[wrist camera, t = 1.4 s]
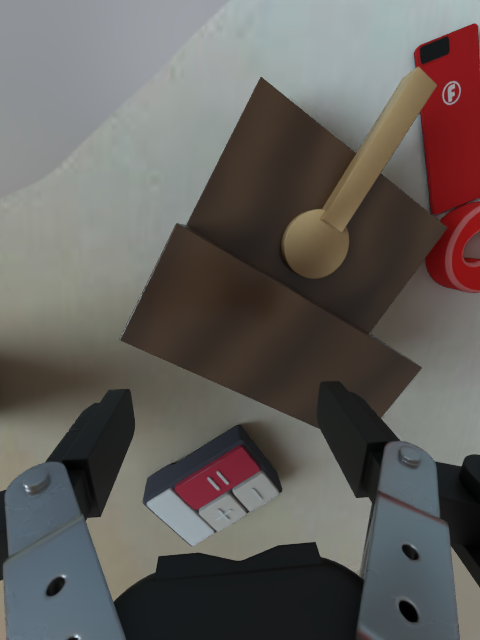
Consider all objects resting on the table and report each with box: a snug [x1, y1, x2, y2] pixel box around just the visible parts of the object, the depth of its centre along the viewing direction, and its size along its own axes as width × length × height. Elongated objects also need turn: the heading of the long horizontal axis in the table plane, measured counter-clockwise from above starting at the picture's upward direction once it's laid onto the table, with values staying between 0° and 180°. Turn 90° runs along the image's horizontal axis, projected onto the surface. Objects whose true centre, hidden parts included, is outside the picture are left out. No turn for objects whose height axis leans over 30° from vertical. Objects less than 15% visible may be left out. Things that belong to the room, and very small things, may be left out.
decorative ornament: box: [426, 201, 480, 293], centre depth 30 cm, size 10×10×3 cm
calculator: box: [143, 425, 282, 546], centre depth 36 cm, size 11×4×15 cm
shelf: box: [120, 77, 447, 429], centre depth 23 cm, size 20×20×13 cm
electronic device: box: [414, 24, 480, 215], centre depth 27 cm, size 6×1×15 cm
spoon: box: [281, 67, 437, 279], centre depth 21 cm, size 6×16×2 cm, turn 150°
